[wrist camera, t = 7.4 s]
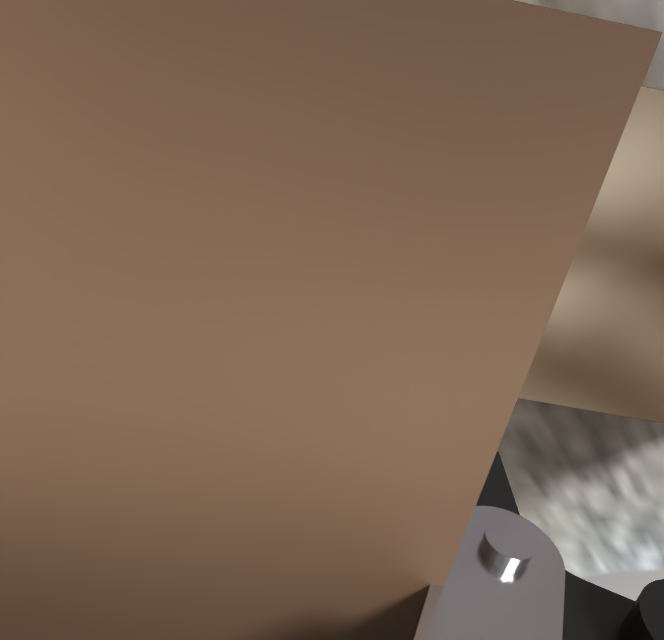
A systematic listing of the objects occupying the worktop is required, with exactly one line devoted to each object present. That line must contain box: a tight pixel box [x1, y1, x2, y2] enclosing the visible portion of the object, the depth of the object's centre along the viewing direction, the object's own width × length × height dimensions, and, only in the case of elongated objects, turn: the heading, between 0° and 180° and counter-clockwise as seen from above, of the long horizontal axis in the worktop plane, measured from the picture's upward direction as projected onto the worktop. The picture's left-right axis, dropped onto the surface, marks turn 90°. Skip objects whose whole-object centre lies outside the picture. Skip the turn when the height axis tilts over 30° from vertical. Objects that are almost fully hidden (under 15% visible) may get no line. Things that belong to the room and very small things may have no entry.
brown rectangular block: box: [0, 0, 662, 640], centre depth 8 cm, size 12×5×5 cm, turn 169°
